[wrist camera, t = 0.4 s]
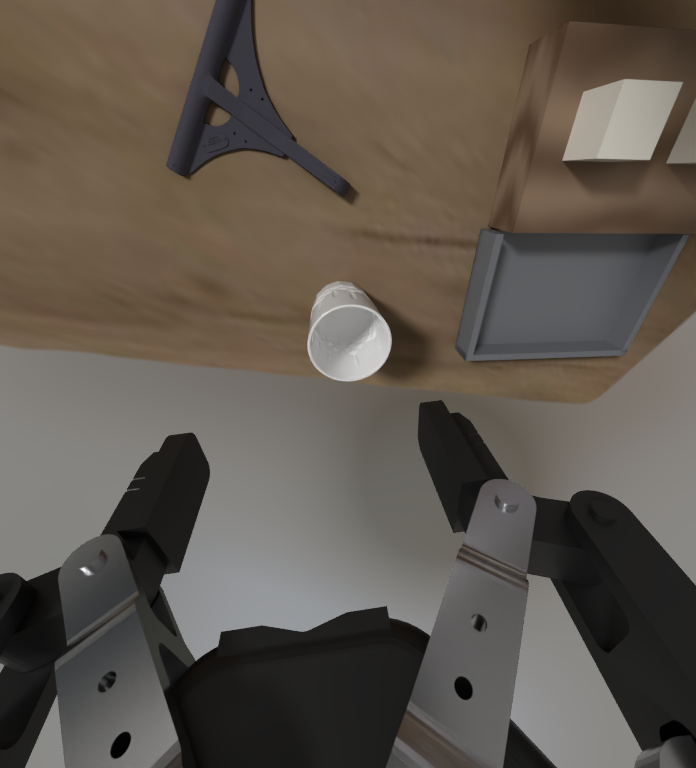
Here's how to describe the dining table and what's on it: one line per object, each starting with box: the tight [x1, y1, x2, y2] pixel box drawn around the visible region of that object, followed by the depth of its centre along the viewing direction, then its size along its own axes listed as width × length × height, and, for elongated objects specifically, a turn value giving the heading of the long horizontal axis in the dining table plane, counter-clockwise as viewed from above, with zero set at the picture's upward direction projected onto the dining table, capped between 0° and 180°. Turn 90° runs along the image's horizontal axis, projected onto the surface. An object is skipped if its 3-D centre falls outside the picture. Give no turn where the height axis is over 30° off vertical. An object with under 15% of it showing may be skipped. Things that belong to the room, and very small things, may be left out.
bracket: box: [166, 0, 350, 197], centre depth 29 cm, size 14×15×3 cm
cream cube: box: [562, 79, 683, 162], centre depth 25 cm, size 4×4×4 cm
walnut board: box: [489, 21, 696, 234], centre depth 30 cm, size 14×20×5 cm
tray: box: [455, 229, 690, 361], centre depth 39 cm, size 14×22×4 cm, turn 89°
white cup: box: [308, 281, 392, 381], centre depth 34 cm, size 8×8×10 cm
